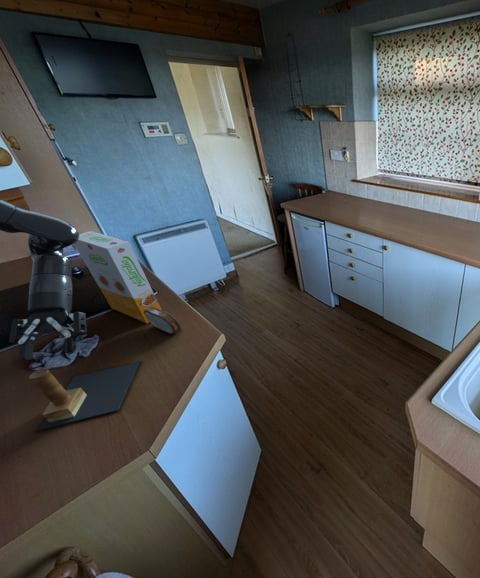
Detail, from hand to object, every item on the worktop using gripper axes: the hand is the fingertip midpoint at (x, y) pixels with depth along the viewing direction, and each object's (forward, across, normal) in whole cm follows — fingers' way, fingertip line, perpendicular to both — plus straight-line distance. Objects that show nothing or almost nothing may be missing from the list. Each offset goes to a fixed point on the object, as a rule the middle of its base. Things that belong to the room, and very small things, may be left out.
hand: (48, 356), depth 73 cm
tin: (-8, +14, +29) cm, 33 cm away
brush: (+14, 0, +7) cm, 15 cm away
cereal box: (-18, -1, +40) cm, 44 cm away
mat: (+11, +4, +10) cm, 15 cm away
